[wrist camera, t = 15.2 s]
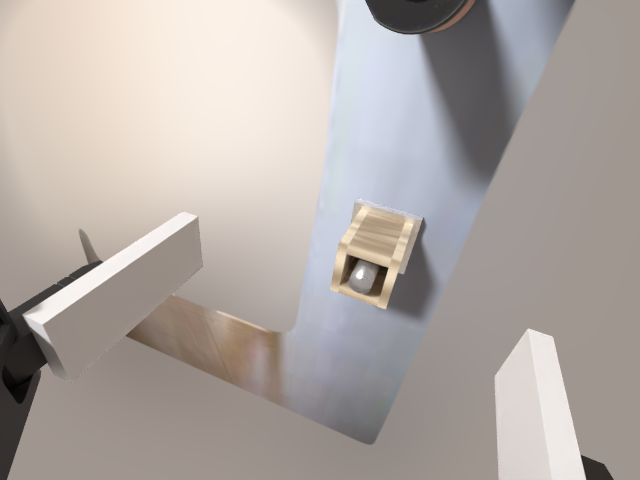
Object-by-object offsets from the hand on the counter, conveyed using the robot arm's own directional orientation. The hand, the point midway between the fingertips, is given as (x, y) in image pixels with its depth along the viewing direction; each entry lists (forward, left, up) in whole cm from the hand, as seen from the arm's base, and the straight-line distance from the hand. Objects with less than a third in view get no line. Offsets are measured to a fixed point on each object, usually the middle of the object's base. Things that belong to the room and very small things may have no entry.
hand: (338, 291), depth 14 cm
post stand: (+17, +10, -37) cm, 42 cm away
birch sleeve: (+17, +10, -35) cm, 40 cm away
